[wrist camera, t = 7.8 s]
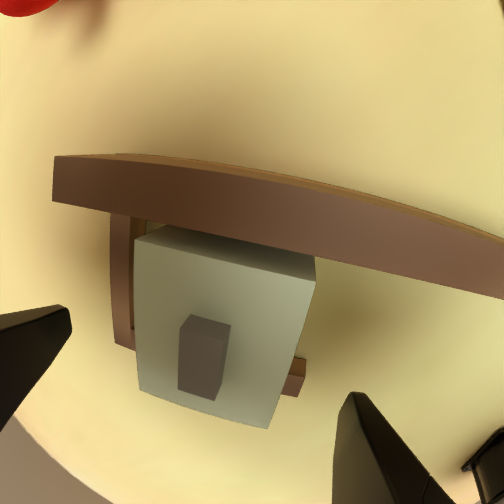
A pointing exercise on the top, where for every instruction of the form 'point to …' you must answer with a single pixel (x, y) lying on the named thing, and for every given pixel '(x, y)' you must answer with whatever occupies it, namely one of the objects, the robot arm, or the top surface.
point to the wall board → (271, 224)
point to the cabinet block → (218, 320)
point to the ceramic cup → (24, 7)
